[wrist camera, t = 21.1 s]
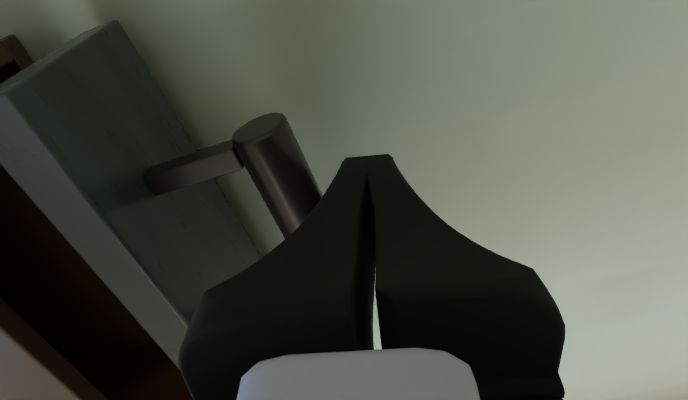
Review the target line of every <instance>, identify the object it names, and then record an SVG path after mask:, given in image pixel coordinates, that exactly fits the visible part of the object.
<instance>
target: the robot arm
mask: <svg viewBox="0 0 688 400" xmlns="http://www.w3.org/2000/svg"><path fill="white" fill-rule="evenodd" d="M375 268H376V283H375ZM374 284H375V291H376V300H377V309H378V318H379V327H380V336H381V345H382V350H374V347H373V301H374ZM564 340H565V324H564V322H563V320H562V316H561V314H560V311H559V309H558V307H557V305H556V303H555V301H554V299H553V298H552V296H551V295H550V293H549V291H548V290H547V288H546V287H545V285H544V284H543V282H542V281H541V279H540V278H539V276H538V275H537V274H536V272H535V271H534V270H533V269H532V268H530V267H527V266H525V265H522V264H520V263H517V262H515V261H512V260H510V259H507V258H505V257H502V256H500V255H498V254H496V253H494V252H492V251H490V250H488V249H486V248H484V247H482V246H480V245H478V244H476V243H475V242H473V241H471V240H470V239H468V238H467V237H465V236H464V235H462V234H460V233H459V232H457V231H456V230H454V229H453V228H452V227H450V226H449V225H448V224H447V223H445V222H444V221H443V220H442V219H441V218H440V217H438V216H437V215H436V214H435V213H434V212H433V211H432V210H431V209H430V208H429V207H428V206H427V205H426V204H425V203H424V202H423V201H422V200H421V199H420V197H419V196H418V195H417V194H416V193H415V191H414V190H413V189H412V188H411V186H410V185H409V184H408V183H407V181H406V180H405V179H404V177H403V176H402V174H401V173H400V171H399V169H398V168H397V166H396V164H395V162H394V160H393V157H391V156H390V155H389V154H383V155H372V156H361V157H350V158H346V159H345V160H344V161H343V162H342V164H341V166H340V168H339V170H338V172H337V174H336V176H335V178H334V179H333V181H332V183H331V184H330V186H329V187H328V189H327V190H326V192H325V194H324V195H323V197H322V198H321V199H320V201H319V202H318V203H317V205H316V206H315V207H314V209H313V210H312V211H311V213H310V214H309V215H308V216H307V218H306V219H305V220H304V221H303V222H302V223H301V224H300V226H299V227H298V228H297V229H296V230H295V231H294V232H293V233H292V234H291V235H290V236H289V237H288V238H286V239H285V240H284V241H283V242H282V243H280V244H279V245H278V246H277V247H276V248H274V249H273V250H272V251H271V252H270V253H268V254H267V255H266V256H264V257H263V258H261V259H260V260H258V261H257V262H256V263H254V264H253V265H251V266H249V267H248V268H246V269H245V270H243V271H242V272H240V273H238V274H237V275H235V276H233V277H231V278H229V279H227V280H225V281H224V282H222V283H220V284H218V285H216V286H214V287H212V288H210V289H208V290H206V291H205V292H204V294H203V296H202V298H201V300H200V302H199V304H198V306H197V307H196V309H195V312H194V314H193V316H192V318H191V321H190V323H189V326H188V329H187V331H186V334H185V337H184V340H183V342H182V345H181V348H180V351H179V358H178V365H179V368H180V372H181V375H182V377H183V379H184V381H185V383H186V385H187V387H188V389H189V391H190V393H191V395H192V398H193V400H563V399H562V398H564V394H565V392H564V387H563V384H562V382H561V379H560V377H559V374H558V369H559V364H560V359H561V354H562V350H563V345H564Z"/></svg>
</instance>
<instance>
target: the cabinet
mask: <svg viewBox="0 0 688 400" xmlns="http://www.w3.org/2000/svg"><path fill="white" fill-rule="evenodd" d="M33 63H34V62H33V60H32V59H31V58H30V56H29V55H28V54H27V52H26V51H25V50H24V48H23V47H22V45H21V44H20V43H19V41H18V40H17V39H16V37H15V36H14V35H9V36H7V37H4V38H2V39H0V84H1V83H3V82H4V81H6V80H7V79H9V78H11V77H12V76H14V75H16V74H17V73H19V72H20V71H22V70H24V69H25V68H27V67H28V66H30V65H32V64H33ZM0 400H108V399H107V398H106V397H105V396H104V395H103V394H102V393H101V392H100V391H99V390H98V389H97V388H96V387H94V386H93V385H92V384H91V383H90V382H89V381H88V380H87V379H86V378H85V377H84V376H83V375H82V374H81V373H80V372H79V371H78V370H76V369H75V368H74V367H73V366H72V365H71V364H70V363H69V362H68V361H67V360H66V359H65V358H64V357H63V356H62V355H61V354H60V353H59V352H57V351H56V350H55V349H54V348H53V347H52V346H51V345H50V344H49V343H48V342H47V341H46V340H45V339H44V338H43V337H42V336H41V335H39V334H38V333H37V332H36V331H35V330H34V329H33V328H32V327H31V326H30V325H29V324H28V323H27V322H26V321H25V320H24V319H23V318H22V317H20V316H19V315H18V314H17V313H16V312H15V311H14V310H13V309H12V308H11V307H10V306H9V305H8V304H7V303H6V302H5V301H4V300H2V299H1V298H0Z"/></svg>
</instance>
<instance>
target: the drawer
mask: <svg viewBox="0 0 688 400" xmlns="http://www.w3.org/2000/svg"><path fill="white" fill-rule="evenodd" d="M244 165H245V167H246V169H247V171H248V173H249V174H250V176H251V178H252V180H253V182H254V183H255V185H256V187H257V189H258V191H259V193H260V194H261V196H262V198H263V200H264V202H265V203H266V205H267V207H268V209H269V211H270V212H271V214H272V216H273V218H274V220H275V221H276V223H277V225H278V227H279V229H280V231H281V232H282V234H283V236H284V238H285V239H286V238H288V237H289V236H290V235H291V234H292V233H293V232H294V231H295V230H296V229H297V228H298V227H299V226H300V224H301V223H302V222H303V221H304V220H305V219H306V218H307V216H308V215H309V214H310V213H311V211H312V210H313V209H314V207H315V206H316V205H317V203H318V202H319V201H320V199H321V198H322V197H323V195H322V193H321V191H320V189H319V187H318V185H317V183H316V180H315V178H314V176H313V174H312V172H311V170H310V168H309V166H308V163H307V161H306V159H305V157H304V155H303V153H302V151H301V148H300V146H299V144H298V142H297V140H296V138H295V136H294V134H293V131H292V129H291V127H290V125H289V123H288V121H287V119H286V117H285V116H284V115H283V114H281V113H270V114H266V115H262V116H260V117H257V118H255V119H253V120H251V121H249V122H247V123H246V124H244V125H243V126H242V127H240V128H239V129H238V130H237V131H236V132H235V133H234V135H233V136H232V140H229V141H226V142H223V143H220V144H217V145H214V146H211V147H208V148H205V149H202V150H199V151H196V149H195V148H194V146H193V144H192V143H191V141H190V139H189V138H188V136H187V134H186V133H185V131H184V129H183V128H182V126H181V124H180V123H179V121H178V119H177V118H176V116H175V114H174V113H173V111H172V109H171V108H170V106H169V104H168V103H167V101H166V100H165V98H164V96H163V95H162V93H161V91H160V90H159V88H158V86H157V85H156V83H155V81H154V80H153V78H152V76H151V75H150V73H149V71H148V70H147V68H146V66H145V65H144V63H143V61H142V60H141V58H140V56H139V55H138V53H137V52H136V50H135V48H134V47H133V45H132V43H131V42H130V40H129V38H128V37H127V35H126V33H125V32H124V30H123V28H122V27H121V25H120V23H119V22H118V21H117V20H113V21H110V22H108V23H105V24H103V25H101V26H98V27H96V28H93V29H91V30H89V31H86V32H84V33H82V34H80V35H78V36H77V37H75V38H73V39H72V40H70V41H69V42H67V43H65V44H64V45H62V46H61V47H59V48H57V49H56V50H54V51H53V52H51V53H49V54H48V55H46V56H45V57H43V58H41V59H40V60H38V61H36V62H35V63H33V64H32V65H30V66H28V67H27V68H25V69H24V70H22V71H20V72H19V73H17V74H16V75H14V76H12V77H11V78H9V79H7V80H6V81H4V82H3V83H1V84H0V298H1V299H2V300H4V301H5V302H6V303H7V304H8V305H9V306H10V307H11V308H12V309H13V310H14V311H15V312H16V313H17V314H18V315H19V316H20V317H22V318H23V319H24V320H25V321H26V322H27V323H28V324H29V325H30V326H31V327H32V328H33V329H34V330H35V331H36V332H37V333H38V334H39V335H41V336H42V337H43V338H44V339H45V340H46V341H47V342H48V343H49V344H50V345H51V346H52V347H53V348H54V349H55V350H56V351H57V352H59V353H60V354H61V355H62V356H63V357H64V358H65V359H66V360H67V361H68V362H69V363H70V364H71V365H72V366H73V367H74V368H75V369H76V370H78V371H79V372H80V373H81V374H82V375H83V376H84V377H85V378H86V379H87V380H88V381H89V382H90V383H91V384H92V385H93V386H94V387H96V388H97V389H98V390H99V391H100V392H101V393H102V394H103V395H104V396H105V397H106V398H107V399H108V400H193V398H192V395H191V393H190V391H189V389H188V387H187V385H186V383H185V381H184V379H183V377H182V375H181V372H180V368H179V365H178V358H179V351H180V348H181V345H182V342H183V340H184V337H185V334H186V331H187V329H188V326H189V323H190V321H191V318H192V316H193V314H194V312H195V309H196V307H197V306H198V304H199V302H200V300H201V298H202V296H203V294H204V292H205V291H206V290H208V289H210V288H212V287H214V286H216V285H218V284H220V283H222V282H224V281H225V280H227V279H229V278H231V277H233V276H235V275H237V274H238V273H240V272H242V271H243V270H245V269H246V268H248V267H249V266H251V265H253V264H254V263H256V262H257V261H258V260H260V259H261V257H260V255H259V253H258V252H257V250H256V249H255V247H254V245H253V244H252V242H251V240H250V239H249V237H248V235H247V234H246V232H245V230H244V229H243V227H242V225H241V224H240V222H239V220H238V219H237V217H236V215H235V214H234V212H233V210H232V209H231V207H230V205H229V204H228V202H227V201H226V199H225V197H224V196H223V194H222V192H221V191H220V189H219V187H218V186H217V184H216V182H215V181H214V179H213V178H215V177H218V176H221V175H224V174H228V173H231V172H234V171H237V170H240V169H243V167H244Z"/></svg>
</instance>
